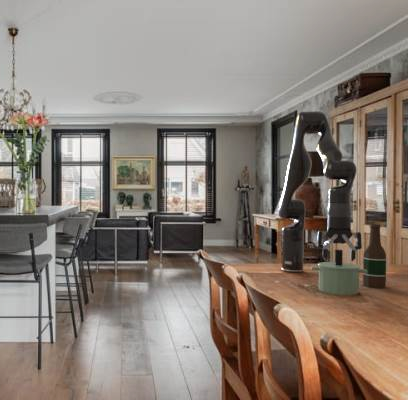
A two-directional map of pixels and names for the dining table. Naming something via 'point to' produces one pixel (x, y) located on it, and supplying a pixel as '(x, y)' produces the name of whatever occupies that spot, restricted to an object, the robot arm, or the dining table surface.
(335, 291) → the pot
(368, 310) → the dining table surface
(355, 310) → the dining table surface
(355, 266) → the lid
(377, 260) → the beer bottle
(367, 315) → the dining table surface
